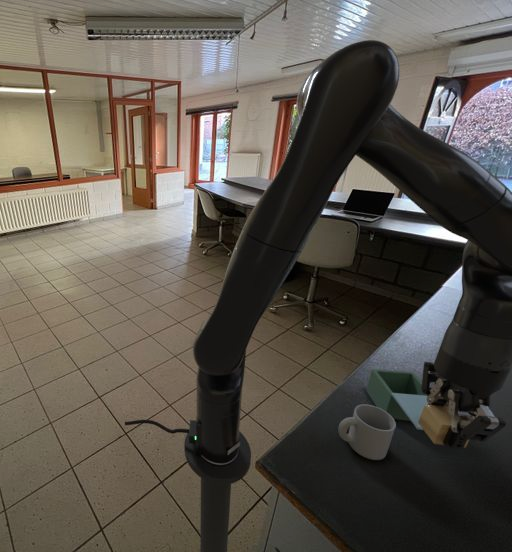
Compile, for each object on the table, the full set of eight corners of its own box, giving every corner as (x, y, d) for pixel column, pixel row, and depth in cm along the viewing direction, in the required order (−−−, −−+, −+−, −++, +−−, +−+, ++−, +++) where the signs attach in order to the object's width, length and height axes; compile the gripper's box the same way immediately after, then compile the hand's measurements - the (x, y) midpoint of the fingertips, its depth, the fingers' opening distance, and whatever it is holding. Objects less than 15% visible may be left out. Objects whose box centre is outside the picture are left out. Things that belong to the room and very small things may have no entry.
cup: (393, 463, 63) (404, 433, 60) (341, 457, 65) (349, 427, 62) (375, 434, 70) (384, 405, 67) (329, 430, 72) (335, 401, 69)
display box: (384, 418, 74) (391, 394, 71) (366, 390, 83) (371, 368, 80) (429, 422, 72) (438, 399, 69) (405, 394, 81) (413, 371, 78)
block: (434, 443, 50) (442, 424, 48) (417, 422, 54) (424, 404, 52) (465, 447, 49) (475, 428, 47) (446, 425, 53) (454, 407, 51)
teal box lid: (417, 429, 62) (424, 409, 60) (391, 394, 71) (396, 376, 69) (475, 435, 60) (484, 415, 58) (440, 398, 69) (447, 380, 67)
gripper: (417, 325, 52) (393, 400, 59) (483, 381, 39) (443, 469, 46) (469, 328, 51) (438, 404, 57) (556, 387, 38) (504, 478, 44)
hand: (441, 433), depth 51 cm, fingers closed on block, 4 cm apart
